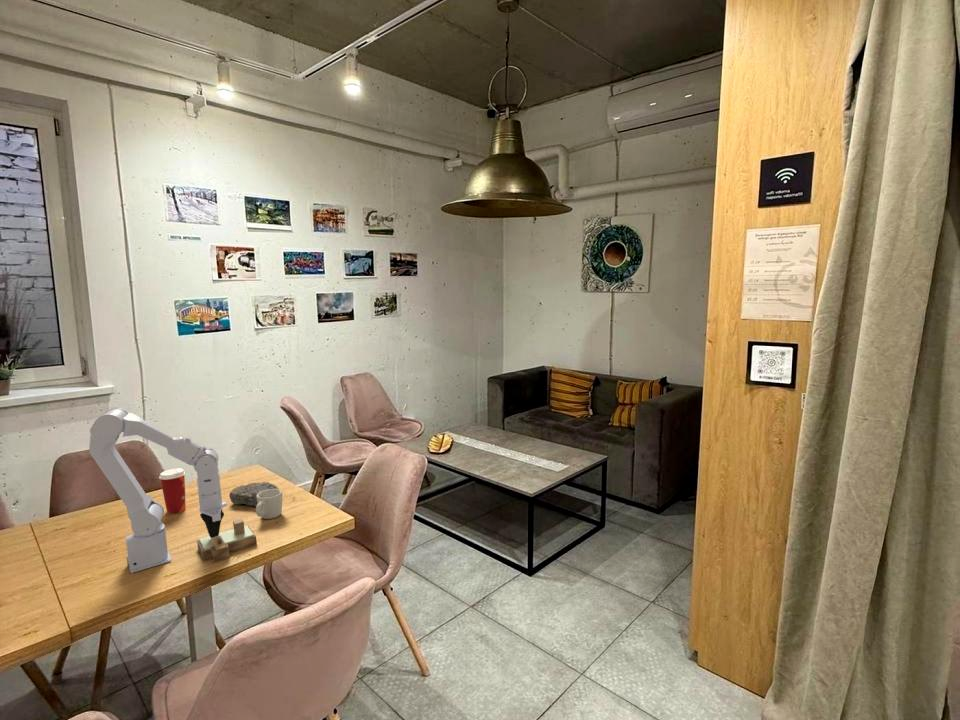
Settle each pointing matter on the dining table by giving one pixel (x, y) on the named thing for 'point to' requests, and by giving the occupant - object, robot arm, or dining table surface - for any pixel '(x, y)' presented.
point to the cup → (269, 503)
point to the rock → (249, 493)
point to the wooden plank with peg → (218, 542)
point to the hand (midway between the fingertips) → (214, 536)
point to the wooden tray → (226, 549)
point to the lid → (229, 535)
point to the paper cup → (173, 490)
